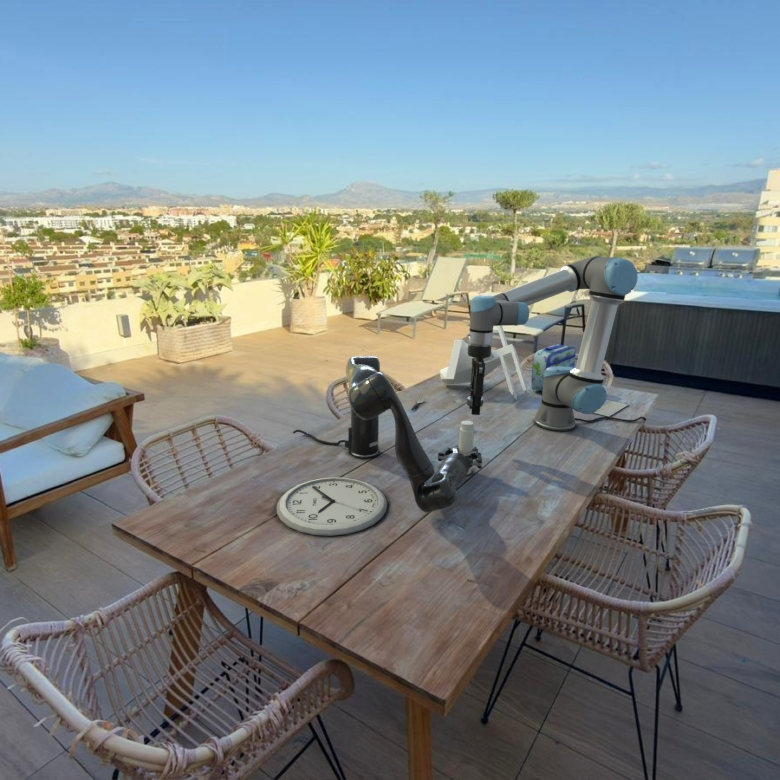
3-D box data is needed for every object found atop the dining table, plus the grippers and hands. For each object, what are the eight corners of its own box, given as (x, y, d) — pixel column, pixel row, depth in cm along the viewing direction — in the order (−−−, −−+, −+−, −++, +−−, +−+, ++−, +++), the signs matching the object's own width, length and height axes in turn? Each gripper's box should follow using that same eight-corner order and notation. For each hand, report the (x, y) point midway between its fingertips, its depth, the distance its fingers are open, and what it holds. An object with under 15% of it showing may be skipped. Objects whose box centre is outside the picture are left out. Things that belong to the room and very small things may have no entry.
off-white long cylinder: (462, 467, 167) (465, 419, 162) (473, 471, 164) (477, 422, 159) (454, 471, 164) (457, 422, 159) (465, 476, 161) (468, 426, 156)
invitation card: (608, 416, 214) (573, 407, 224) (608, 416, 214) (573, 408, 224) (628, 404, 229) (594, 396, 238) (628, 405, 229) (594, 397, 238)
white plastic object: (461, 429, 252) (437, 405, 227) (444, 352, 274) (420, 323, 250) (535, 404, 240) (518, 377, 215) (510, 326, 262) (492, 293, 237)
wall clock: (392, 527, 129) (268, 531, 127) (391, 533, 130) (269, 537, 127) (383, 473, 158) (282, 475, 155) (383, 478, 158) (282, 480, 156)
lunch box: (547, 397, 237) (552, 352, 231) (526, 391, 245) (531, 348, 238) (574, 386, 255) (580, 344, 249) (554, 381, 262) (559, 340, 256)
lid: (482, 408, 173) (482, 401, 172) (465, 406, 174) (466, 399, 174) (483, 403, 178) (484, 396, 177) (467, 401, 179) (468, 395, 179)
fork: (408, 410, 217) (408, 406, 216) (419, 399, 231) (419, 395, 230) (414, 411, 216) (414, 407, 215) (425, 400, 230) (425, 396, 230)
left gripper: (478, 462, 146) (491, 440, 161) (429, 454, 151) (446, 433, 166) (476, 487, 148) (489, 463, 163) (428, 477, 153) (445, 455, 168)
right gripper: (465, 338, 179) (460, 402, 186) (471, 349, 161) (466, 420, 168) (487, 338, 179) (481, 403, 185) (496, 350, 161) (489, 421, 168)
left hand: (467, 448), depth 164 cm, fingers closed on off-white long cylinder, 4 cm apart
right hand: (474, 411), depth 177 cm, fingers closed on lid, 5 cm apart
